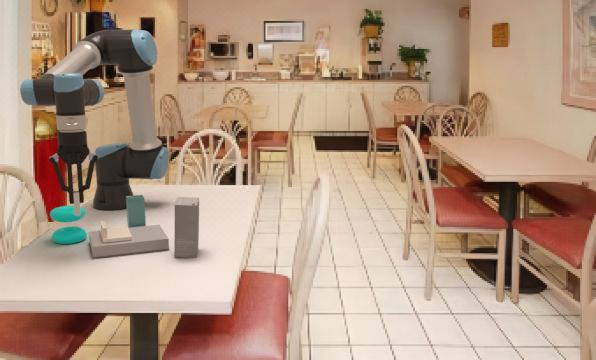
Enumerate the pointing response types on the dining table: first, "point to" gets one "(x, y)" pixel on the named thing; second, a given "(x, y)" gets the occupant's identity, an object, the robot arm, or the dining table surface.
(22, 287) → the dining table surface
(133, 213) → the green rectangular box
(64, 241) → the donuts
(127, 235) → the shutter
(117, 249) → the socket plate
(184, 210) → the skincare box
